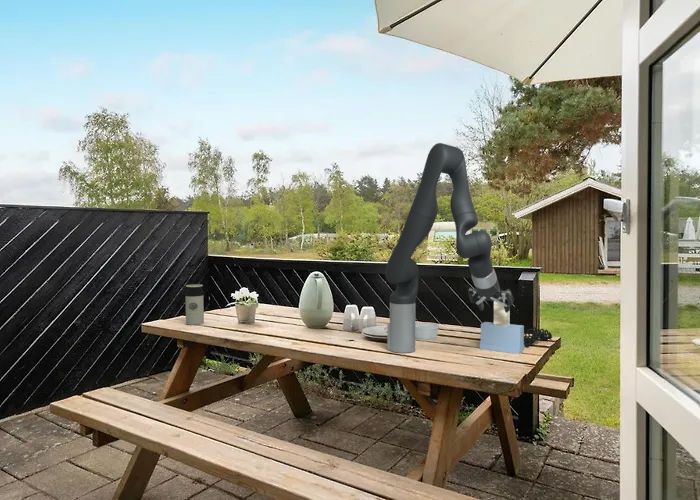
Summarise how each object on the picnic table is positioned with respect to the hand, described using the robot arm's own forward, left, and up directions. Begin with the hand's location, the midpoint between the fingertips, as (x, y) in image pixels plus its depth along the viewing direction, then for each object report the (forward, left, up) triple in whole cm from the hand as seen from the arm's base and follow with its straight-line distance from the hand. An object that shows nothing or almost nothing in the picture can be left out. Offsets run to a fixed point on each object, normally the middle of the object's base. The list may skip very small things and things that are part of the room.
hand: (494, 309), depth 173 cm
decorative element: (+8, +26, -16) cm, 31 cm away
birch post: (0, +9, -7) cm, 11 cm away
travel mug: (-135, -16, -16) cm, 137 cm away
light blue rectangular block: (0, +9, -16) cm, 18 cm away
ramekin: (-32, +13, -16) cm, 38 cm away
